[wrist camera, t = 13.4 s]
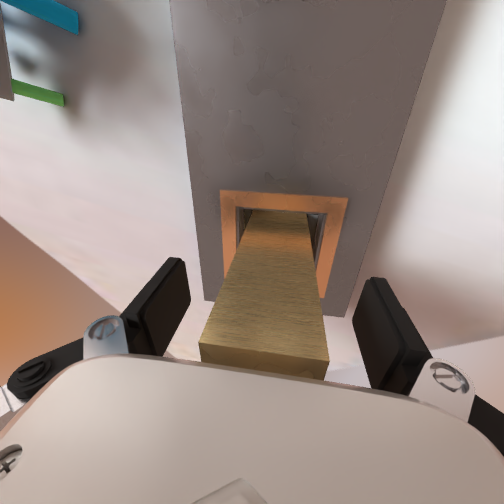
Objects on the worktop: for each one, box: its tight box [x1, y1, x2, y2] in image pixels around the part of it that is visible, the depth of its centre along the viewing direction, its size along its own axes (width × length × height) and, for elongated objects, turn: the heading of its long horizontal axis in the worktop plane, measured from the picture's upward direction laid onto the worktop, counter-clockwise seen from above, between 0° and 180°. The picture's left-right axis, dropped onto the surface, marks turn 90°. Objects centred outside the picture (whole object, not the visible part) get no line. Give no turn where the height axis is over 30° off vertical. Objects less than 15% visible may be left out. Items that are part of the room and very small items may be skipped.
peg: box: [198, 210, 330, 381], centre depth 13 cm, size 4×4×12 cm
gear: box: [0, 0, 78, 107], centre depth 11 cm, size 11×6×10 cm
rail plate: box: [169, 0, 447, 317], centre depth 13 cm, size 28×12×2 cm, turn 179°
